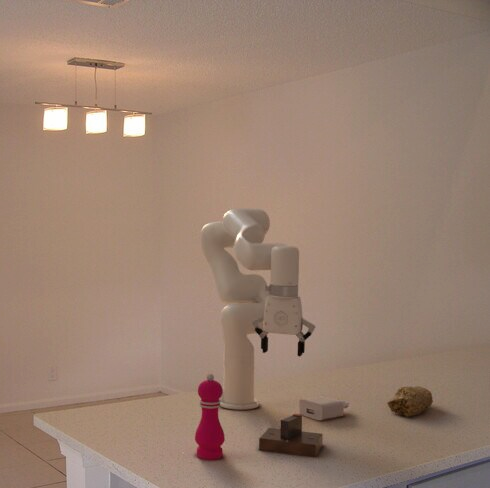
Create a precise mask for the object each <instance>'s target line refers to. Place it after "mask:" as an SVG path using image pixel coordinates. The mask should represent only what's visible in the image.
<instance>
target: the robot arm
mask: <svg viewBox="0 0 490 488" xmlns="http://www.w3.org/2000/svg"><path fill="white" fill-rule="evenodd" d="M270 225H271V221H270V217H269V215H268V213H267V212H266V211H265V210H264V209H262V208H233V209H232V208H231V209H229V210H228V211H226V213H224V215H223V217H222V221H213V222H209V223H207V224H205V225H203V227H202V228H201V230H200V246H201V250H202V253H203V255H204V258H205V259H206V261H207V264H209V267H210V269H211V272H212V276H213V280H214V284H215V288H216V291H217V294H218V296H219V299H220V301H221V302H222V303H224V304H228V305H226V306H224V307H223V308H222V310H221V311H220V325H221V330H222V341H223V368H222V369H223V376H222V377H223V378H222V379H223V380H222V383H223V385H222V386H223V387H222V390H223V393H222V396H221V397H220V398H219V400H220V407H221V408H225V409H228V410H239V411H240V410H241V411H242V410H243V411H244V410H252V409H257V408H258V407H260V401H259V400H258V399H256V398H255V347H254V344H253V343H252V341H251V340H250V338H249V336H248V335H253V334H254V335H255V334H257V335H258V336H259V338H260V350H262V354H266V353H267V352H268V351H269V337H268V334H277V335H278V334H279V335H290V336H294V335H295V336H296V337H297V339H298V341H297V357H302V356H303V354H304V353H305V345H306V340H308V338H309V337H311V336H312V334H313V332H314V331H315V330H316V325H315V324H313V323H312V322H310V321H308V320H306V319H305V318H304V317H303V304H302V298H301V296H299V279H300V278H299V275H300V250H299V248H298V247H296V246H292V245H288V244H286V243H279V242H278V243H277V242H276V243H272V242H271V243H270V242H269V243H268V242H267V243H264V240H265V236H266V234H267V233H268V232H269V230H270ZM225 248H226V249H227V248H230V249H231V248H233V249H234V256H235V258H234V256H233V255H232V254H231V253H230V252H228V251H227V250H226V249H225ZM237 261H238V262H237ZM238 263H239V264H240V265H241V266H242V267H244V269H247V270H249V271H270V279H269V280H270V282H269V283H270V284H269V285H268V284H267V281H266V279H265V278H264V277H263V276H262V275H260V274H257V273H242V272H241V271H240V268H239V265H238ZM303 326H304V327H306V328H307V330H306V331H307V332H306V333H304V332H303Z"/></svg>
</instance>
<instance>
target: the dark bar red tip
mask: <svg viewBox="0 0 490 488" xmlns="http://www.w3.org/2000/svg"><path fill="white" fill-rule="evenodd" d="M280 429H281V432H280V438H283V439H290V438H293V437H295V436H297V435H299V434H302V431H303V415H301V414H300V413H299V414H298V413H292V415H290V416H287V417H284V418H283V419H280Z"/></svg>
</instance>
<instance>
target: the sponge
mask: <svg viewBox="0 0 490 488" xmlns="http://www.w3.org/2000/svg"><path fill="white" fill-rule="evenodd" d="M433 403H434V401H433V394H432V392H431V391H430V390H429V389H427V388H425V387H422V386H401V387H399V388H398V389H397V390H396V393H394V397H392V398H391V399H390V400H389V401H387V403H386V404H387V406H388V408H389V409H390V411H391V412H393V413H395V414H397V415H403V416H405V417H413V416H416V415H420V414H421V413H422V412H423V411H426V410H427V409H429V408H431V406H432V405H433Z"/></svg>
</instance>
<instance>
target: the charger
mask: <svg viewBox="0 0 490 488" xmlns="http://www.w3.org/2000/svg"><path fill="white" fill-rule="evenodd" d="M349 405H350V402H346V401H345V400H341V399H337V398H334V397H331V396H327V395H319V396H313V397H308V398H301V399H300V400H299V405H298V406H299V410H298V411H299V415H301V416H302V417H306V418H310V419H312V420H315V421H325V420H329V419H335V418H339V417H343V416H344V411H345V409H347V408H349Z"/></svg>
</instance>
